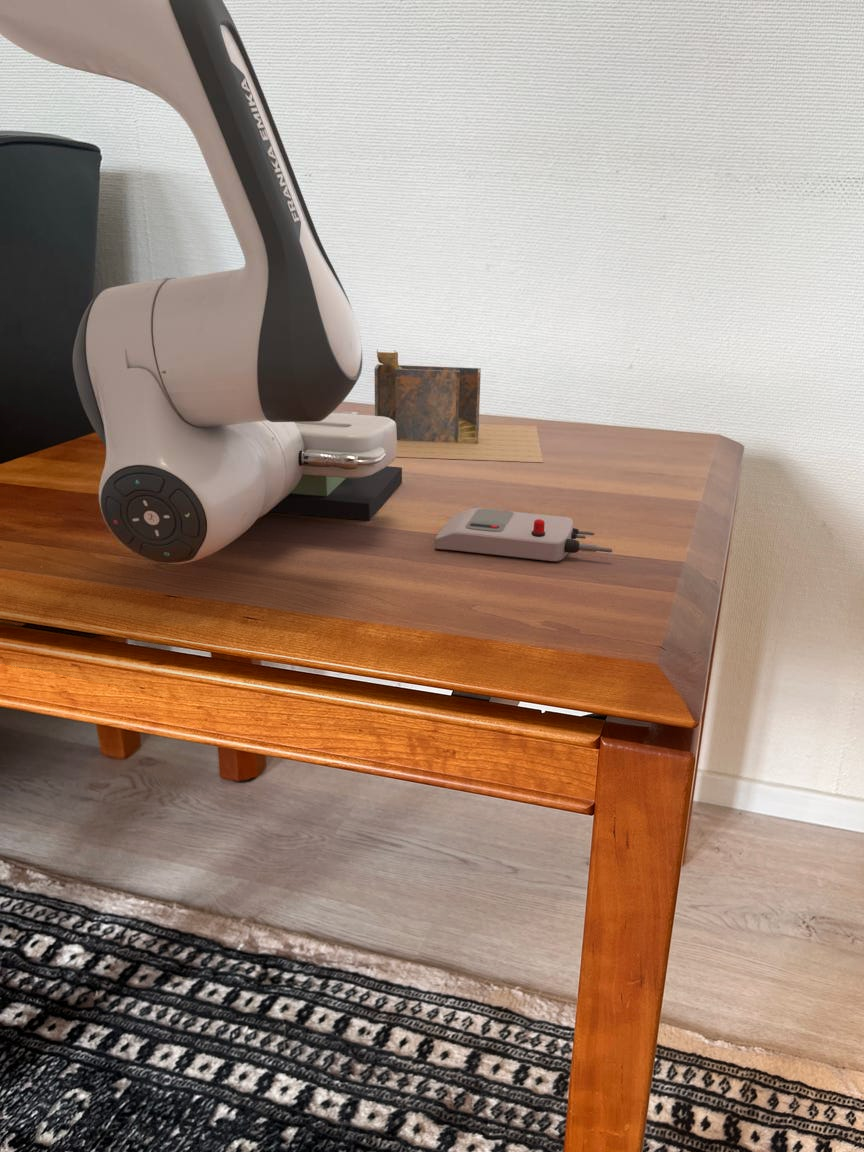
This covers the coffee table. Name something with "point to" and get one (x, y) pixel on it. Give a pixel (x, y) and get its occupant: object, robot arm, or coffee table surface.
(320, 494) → the base pad
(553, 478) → the coffee table surface
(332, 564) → the coffee table surface
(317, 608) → the coffee table surface
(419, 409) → the architectural model on board
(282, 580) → the coffee table surface
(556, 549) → the grey electronic control box
